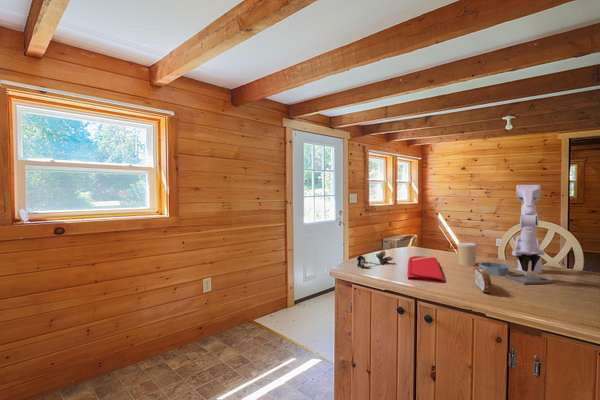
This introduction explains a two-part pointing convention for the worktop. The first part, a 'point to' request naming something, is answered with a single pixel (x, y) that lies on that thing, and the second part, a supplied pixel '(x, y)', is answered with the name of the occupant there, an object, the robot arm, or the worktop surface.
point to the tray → (529, 279)
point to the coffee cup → (467, 253)
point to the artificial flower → (379, 256)
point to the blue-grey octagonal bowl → (495, 268)
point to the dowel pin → (528, 273)
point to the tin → (483, 280)
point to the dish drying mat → (424, 269)
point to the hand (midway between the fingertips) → (527, 270)
